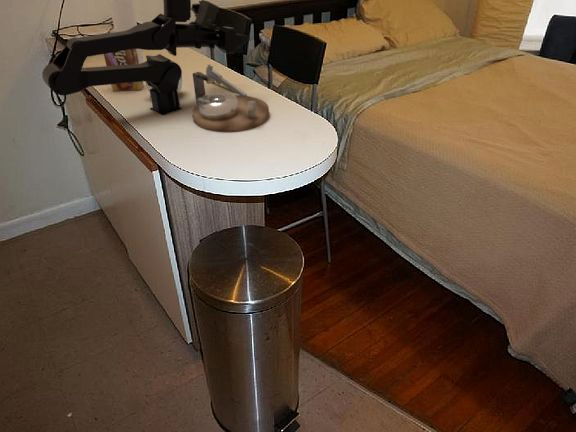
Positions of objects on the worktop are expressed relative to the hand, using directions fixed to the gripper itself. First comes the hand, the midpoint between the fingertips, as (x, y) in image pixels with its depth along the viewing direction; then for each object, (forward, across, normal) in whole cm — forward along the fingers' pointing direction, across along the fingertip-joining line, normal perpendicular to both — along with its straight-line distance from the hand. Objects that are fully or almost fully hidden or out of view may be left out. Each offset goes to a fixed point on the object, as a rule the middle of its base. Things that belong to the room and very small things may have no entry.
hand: (240, 35), depth 124 cm
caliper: (-1, +4, +17) cm, 17 cm away
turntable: (-11, -15, +18) cm, 26 cm away
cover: (-16, -16, +16) cm, 27 cm away
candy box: (-25, +24, +19) cm, 40 cm away
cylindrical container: (-17, +39, +18) cm, 46 cm away
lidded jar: (-18, +10, +19) cm, 28 cm away
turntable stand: (-11, -13, +18) cm, 25 cm away
